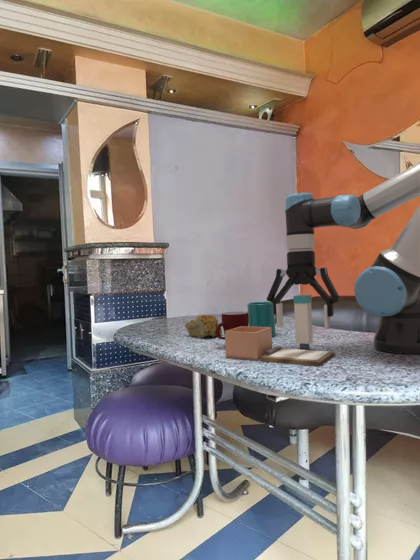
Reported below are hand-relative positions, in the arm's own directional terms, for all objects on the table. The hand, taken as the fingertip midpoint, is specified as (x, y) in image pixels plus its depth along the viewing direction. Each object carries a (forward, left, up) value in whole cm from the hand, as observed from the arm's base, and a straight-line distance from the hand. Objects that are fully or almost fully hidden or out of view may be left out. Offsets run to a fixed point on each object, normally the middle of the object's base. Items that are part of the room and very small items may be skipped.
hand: (302, 327), depth 113 cm
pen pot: (+11, +12, -6) cm, 17 cm away
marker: (0, 0, -6) cm, 6 cm away
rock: (+39, -11, -6) cm, 41 cm away
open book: (-2, +11, -6) cm, 13 cm away
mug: (+21, +3, -6) cm, 22 cm away
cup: (+20, -18, -6) cm, 27 cm away
